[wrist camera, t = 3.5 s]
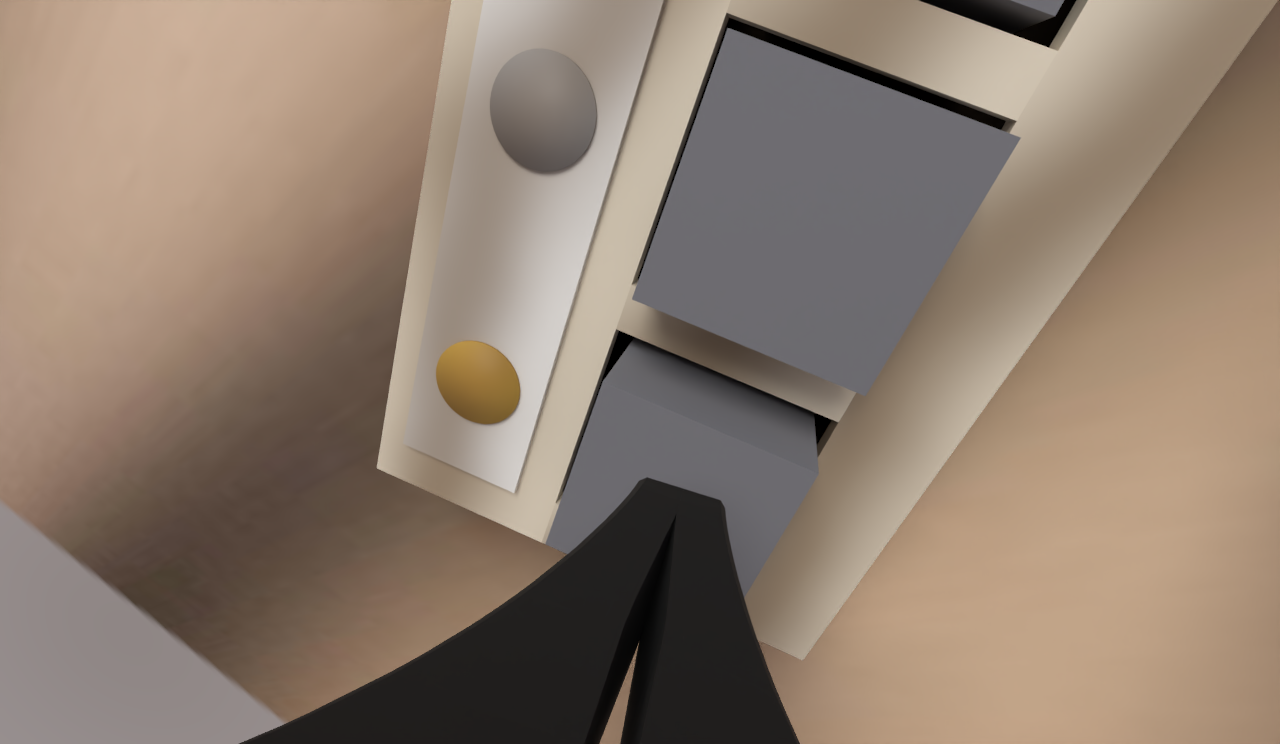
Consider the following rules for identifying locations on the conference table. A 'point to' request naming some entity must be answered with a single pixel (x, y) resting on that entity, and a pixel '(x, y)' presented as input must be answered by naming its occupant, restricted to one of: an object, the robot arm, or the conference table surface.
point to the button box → (632, 202)
